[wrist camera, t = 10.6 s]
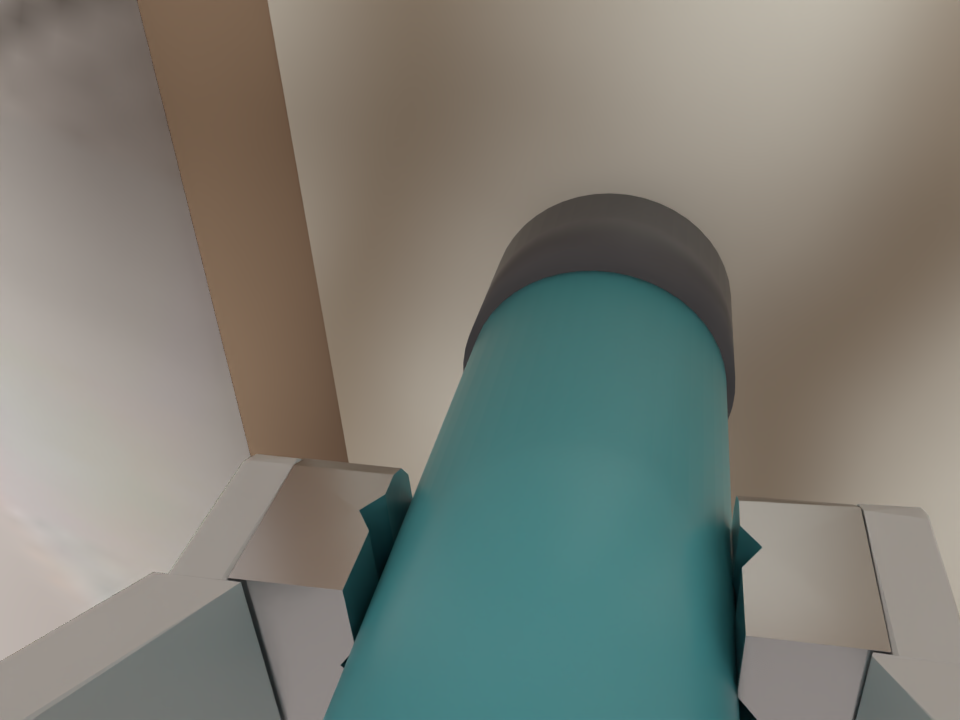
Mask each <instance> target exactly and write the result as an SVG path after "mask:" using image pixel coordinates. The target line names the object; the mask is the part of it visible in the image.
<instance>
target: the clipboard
mask: <svg viewBox="0 0 960 720" xmlns="http://www.w3.org/2000/svg"><path fill="white" fill-rule="evenodd" d="M137 2H138V6H139V10H140V14H141V18H142V22H143V26H144V30H145V34H146V38H147V42H148V46H149V50H150V54H151V58H152V62H153V66H154V70H155V74H156V78H157V82H158V86H159V90H160V95H161V99H162V103H163V107H164V111H165V115H166V119H167V123H168V127H169V131H170V135H171V139H172V143H173V147H174V151H175V155H176V159H177V163H178V167H179V171H180V175H181V179H182V183H183V187H184V191H185V195H186V199H187V203H188V207H189V211H190V215H191V219H192V223H193V227H194V231H195V235H196V239H197V243H198V247H199V251H200V255H201V259H202V263H203V267H204V271H205V275H206V279H207V283H208V287H209V291H210V295H211V299H212V303H213V307H214V311H215V315H216V319H217V323H218V327H219V331H220V335H221V339H222V343H223V347H224V351H225V355H226V359H227V363H228V367H229V371H230V375H231V379H232V383H233V387H234V391H235V395H236V399H237V403H238V407H239V411H240V415H241V419H242V423H243V427H244V431H245V435H246V439H247V443H248V447H249V451H250V455H251V457H252V456H254V455H255V454H261V455H271V456H280V457H290V458H298V459H304V458H308V459H318V460H327V461H337V462H346V463H356V464H365V465H375V466H384V467H394V468H402V469H403V470H404V471H405V472H406V473H407V474H408V475H409V481H410V486H411V492H412V497H413V496H414V493H415V491H416V488H417V486H418V483H419V481H420V478H421V476H422V474H423V471H424V469H425V466H426V464H427V461H428V459H429V456H430V454H431V451H432V449H433V446H434V444H435V441H436V439H437V436H438V434H439V431H440V429H441V426H442V424H443V421H444V419H445V417H446V414H447V412H448V409H449V407H450V404H451V402H452V399H453V397H454V394H455V392H456V389H457V387H458V384H459V382H460V379H461V377H462V374H463V361H464V354H465V348H466V344H467V341H468V338H469V335H470V332H471V330H472V327H473V325H474V323H475V320H476V318H477V315H478V313H479V311H480V308H481V306H482V304H483V301H484V299H485V296H486V294H487V292H488V289H489V287H490V284H491V282H492V280H493V277H494V275H495V273H496V270H497V268H498V265H499V263H500V261H501V259H502V256H503V254H504V252H505V250H506V248H507V247H508V245H509V244H510V242H511V241H512V239H513V238H514V236H515V235H516V234H517V233H518V232H519V231H520V230H521V229H522V227H523V226H524V225H525V224H527V223H528V222H529V221H530V220H531V219H533V218H534V217H535V216H537V215H538V214H540V213H541V212H543V211H545V210H546V209H548V208H550V207H552V206H554V205H556V204H558V203H561V202H563V201H566V200H569V199H573V198H576V197H580V196H586V195H592V194H606V193H613V194H626V195H632V196H637V197H642V198H645V199H648V200H651V201H654V202H657V203H660V204H662V205H664V206H666V207H668V208H671V209H673V210H675V211H676V212H678V213H679V214H681V215H682V216H684V217H685V218H687V219H688V220H689V221H691V222H692V223H693V224H694V225H695V226H696V227H698V228H699V229H700V230H701V231H702V232H703V234H704V235H705V236H706V237H707V238H708V239H709V240H710V242H711V243H712V245H713V246H714V248H715V249H716V251H717V252H718V254H719V256H720V258H721V260H722V262H723V264H724V266H725V270H726V273H727V276H728V279H729V285H730V292H731V307H732V325H733V343H734V362H735V396H734V402H733V407H732V410H731V413H730V416H729V419H728V436H729V462H730V487H731V513H732V519H733V510H734V505H735V500H736V496H747V497H761V498H774V499H787V500H801V501H814V502H827V503H840V504H853V505H856V506H857V505H858V504H873V505H889V506H905V507H921V508H922V509H923V510H924V511H925V512H926V513H927V514H928V515H929V518H930V521H931V524H932V527H933V531H934V534H935V537H936V540H937V544H938V547H939V550H940V553H941V557H942V560H943V563H944V566H945V569H946V573H947V576H948V579H949V582H950V586H951V589H952V592H953V595H954V599H955V602H956V605H957V608H958V612H959V615H960V0H137Z"/></svg>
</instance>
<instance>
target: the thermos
mask: <svg viewBox="0 0 960 720" xmlns="http://www.w3.org/2000/svg"><path fill="white" fill-rule="evenodd" d="M734 396H735V362H734V343H733V325H732V307H731V292H730V285H729V279H728V276H727V273H726V270H725V266H724V264H723V262H722V260H721V258H720V256H719V254H718V252H717V251H716V249H715V248H714V246H713V245H712V243H711V242H710V240H709V239H708V238H707V237H706V236H705V235H704V234H703V232H702V231H701V230H700V229H699V228H698V227H696V226H695V225H694V224H693V223H692V222H691V221H689V220H688V219H687V218H685V217H684V216H682V215H681V214H679V213H678V212H676V211H675V210H673V209H671V208H668V207H666V206H664V205H662V204H660V203H657V202H654V201H651V200H648V199H645V198H642V197H637V196H632V195H626V194H613V193H606V194H592V195H586V196H580V197H576V198H573V199H569V200H566V201H563V202H561V203H558V204H556V205H554V206H552V207H550V208H548V209H546V210H545V211H543V212H541V213H540V214H538V215H537V216H535V217H534V218H533V219H531V220H530V221H529V222H528V223H527V224H525V225H524V226H523V227H522V229H521V230H520V231H519V232H518V233H517V234H516V235H515V236H514V238H513V239H512V241H511V242H510V244H509V245H508V247H507V248H506V250H505V252H504V254H503V256H502V259H501V261H500V263H499V265H498V268H497V270H496V273H495V275H494V277H493V280H492V282H491V284H490V287H489V289H488V292H487V294H486V296H485V299H484V301H483V304H482V306H481V308H480V311H479V313H478V315H477V318H476V320H475V323H474V325H473V327H472V330H471V332H470V335H469V338H468V341H467V344H466V348H465V354H464V361H463V374H462V377H461V379H460V382H459V384H458V387H457V389H456V392H455V394H454V397H453V399H452V402H451V404H450V407H449V409H448V412H447V414H446V417H445V419H444V421H443V424H442V426H441V429H440V431H439V434H438V436H437V439H436V441H435V444H434V446H433V449H432V451H431V454H430V456H429V459H428V461H427V464H426V466H425V469H424V471H423V474H422V476H421V478H420V481H419V483H418V486H417V488H416V491H415V493H414V496H413V498H412V501H411V503H410V506H409V508H408V511H407V513H406V516H405V518H404V521H403V523H402V526H401V528H400V531H399V533H398V535H397V538H396V540H395V543H394V545H393V548H392V550H391V553H390V555H389V558H388V560H387V563H386V565H385V568H384V570H383V573H382V575H381V578H380V580H379V583H378V585H377V587H376V590H375V592H374V595H373V597H372V600H371V602H370V605H369V607H368V610H367V612H366V615H365V617H364V620H363V622H362V625H361V627H360V630H359V632H358V635H357V637H356V640H355V642H354V644H353V647H352V649H351V652H350V654H349V657H348V659H347V662H346V664H345V667H344V669H343V672H342V674H341V677H340V679H339V682H338V684H337V687H336V689H335V692H334V694H333V696H332V699H331V701H330V704H329V706H328V709H327V711H326V714H325V716H324V719H323V720H740V718H739V698H738V697H737V682H736V659H735V634H734V623H735V590H734V586H733V582H732V544H731V527H732V513H731V487H730V462H729V436H728V419H729V416H730V413H731V410H732V407H733V402H734Z"/></svg>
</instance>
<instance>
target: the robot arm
mask: <svg viewBox="0 0 960 720" xmlns="http://www.w3.org/2000/svg"><path fill="white" fill-rule="evenodd" d="M412 498H413V497H412V492H411V486H410V481H409V475H408V474H407V473H406V472H405V471H404V470H403V469H402V468H394V467H384V466H375V465H365V464H356V463H346V462H337V461H327V460H318V459H308V458H304V459H298V458H290V457H280V456H271V455H261V454H255V455H254V456H252V457H250V458H248V459H246V460H245V461H244V462H243V463H242V464H241V465H240V467H239V468H238V470H237V471H236V473H235V474H234V476H233V477H232V479H231V480H230V482H229V483H228V485H227V486H226V488H225V489H224V491H223V492H222V494H221V495H220V497H219V498H218V500H217V501H216V503H215V504H214V506H213V507H212V509H211V510H210V512H209V513H208V515H207V516H206V518H205V519H204V521H203V522H202V524H201V525H200V527H199V528H198V530H197V531H196V533H195V534H194V536H193V537H192V539H191V540H190V542H189V543H188V545H187V546H186V548H185V549H184V551H183V552H182V554H181V555H180V557H179V558H178V560H177V561H176V563H175V564H174V566H173V567H172V569H171V570H170V572H169V573H168V574H167V573H156V572H153V573H151V574H149V575H147V576H146V577H144V578H142V579H141V580H139V581H137V582H135V583H134V584H132V585H130V586H129V587H127V588H125V589H123V590H122V591H120V592H118V593H117V594H115V595H113V596H111V597H110V598H108V599H106V600H105V601H103V602H101V603H99V604H98V605H96V606H94V607H93V608H91V609H89V610H87V611H86V612H84V613H82V614H81V615H79V616H77V617H75V618H74V619H72V620H70V621H69V622H67V623H65V624H63V625H62V626H60V627H58V628H57V629H55V630H53V631H51V632H50V633H48V634H46V635H45V636H43V637H41V638H40V639H38V640H36V641H34V642H32V643H31V644H29V645H28V646H26V647H24V648H22V649H20V650H19V651H17V652H15V653H14V654H12V655H10V656H8V657H7V658H5V659H3V660H2V661H0V720H323V719H324V716H325V714H326V711H327V709H328V706H329V704H330V701H331V699H332V696H333V694H334V692H335V689H336V687H337V684H338V682H339V679H340V677H341V674H342V672H343V669H344V667H345V664H346V662H347V659H348V657H349V654H350V652H351V649H352V647H353V644H354V642H355V640H356V637H357V635H358V632H359V630H360V627H361V625H362V622H363V620H364V617H365V615H366V612H367V610H368V607H369V605H370V602H371V600H372V597H373V595H374V592H375V590H376V587H377V585H378V583H379V580H380V578H381V575H382V573H383V570H384V568H385V565H386V563H387V560H388V558H389V555H390V553H391V550H392V548H393V545H394V543H395V540H396V538H397V535H398V533H399V531H400V528H401V526H402V523H403V521H404V518H405V516H406V513H407V511H408V508H409V506H410V503H411V501H412ZM731 544H732V582H733V586H734V590H735V623H734V634H735V659H736V682H737V697H738V698H739V718H740V720H960V615H959V612H958V608H957V605H956V602H955V599H954V595H953V592H952V589H951V586H950V582H949V579H948V576H947V573H946V569H945V566H944V563H943V560H942V557H941V553H940V550H939V547H938V544H937V540H936V537H935V534H934V531H933V527H932V524H931V521H930V518H929V515H928V514H927V513H926V512H925V511H924V510H923V509H922V508H921V507H905V506H889V505H873V504H858V505H857V506H856V505H853V504H840V503H827V502H814V501H801V500H787V499H774V498H761V497H747V496H736V500H735V505H734V510H733V519H732V527H731Z"/></svg>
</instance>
